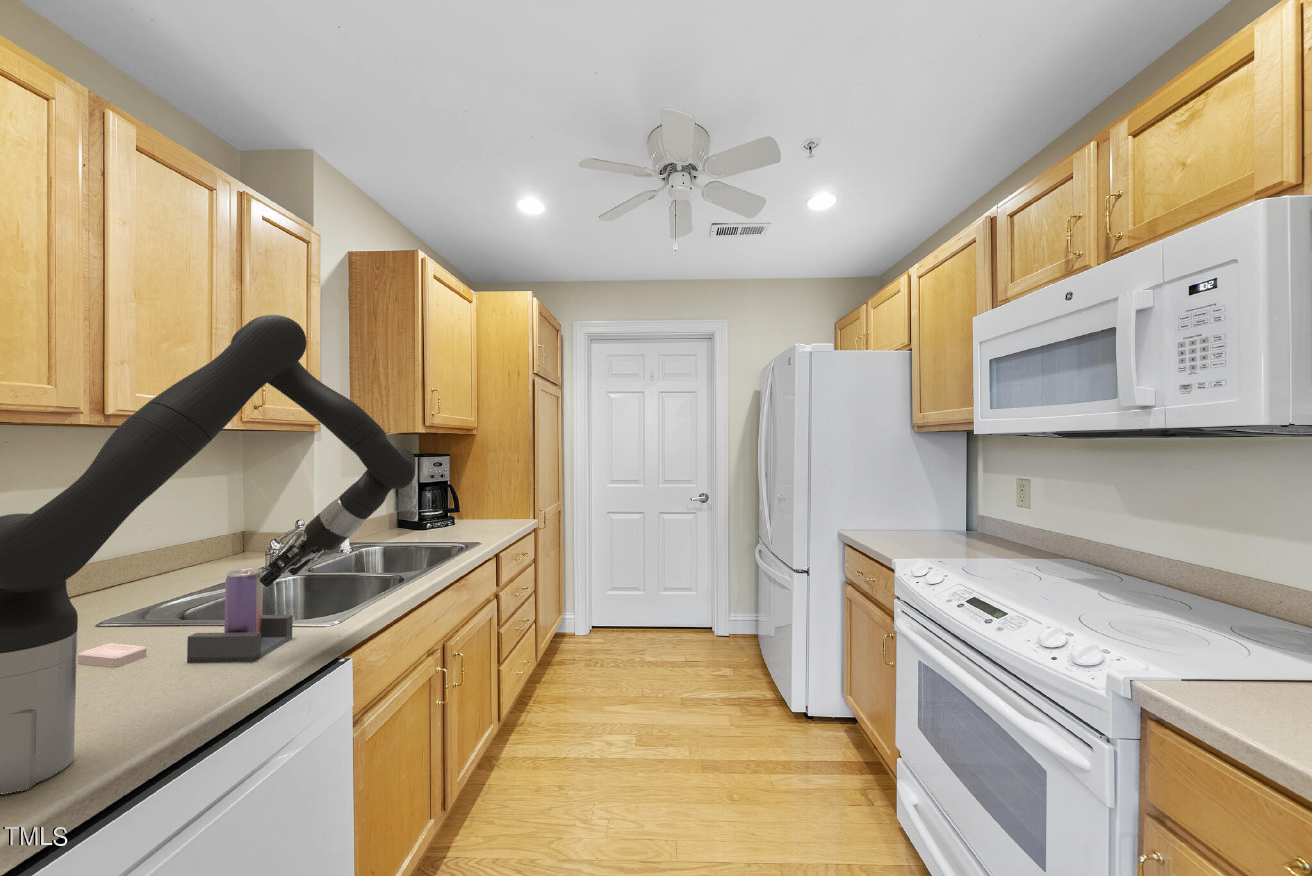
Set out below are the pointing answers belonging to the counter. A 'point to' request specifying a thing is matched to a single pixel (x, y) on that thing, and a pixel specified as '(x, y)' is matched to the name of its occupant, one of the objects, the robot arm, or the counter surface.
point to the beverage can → (243, 601)
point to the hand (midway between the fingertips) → (277, 577)
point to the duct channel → (240, 642)
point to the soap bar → (112, 655)
